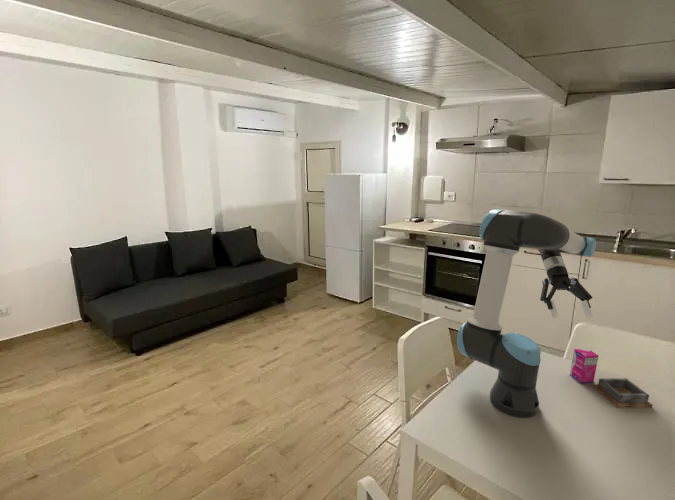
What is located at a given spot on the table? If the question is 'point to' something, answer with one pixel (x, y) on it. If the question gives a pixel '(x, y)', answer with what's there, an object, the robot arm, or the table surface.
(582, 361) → the supplement box
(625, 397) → the socket
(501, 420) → the table surface
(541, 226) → the robot arm
